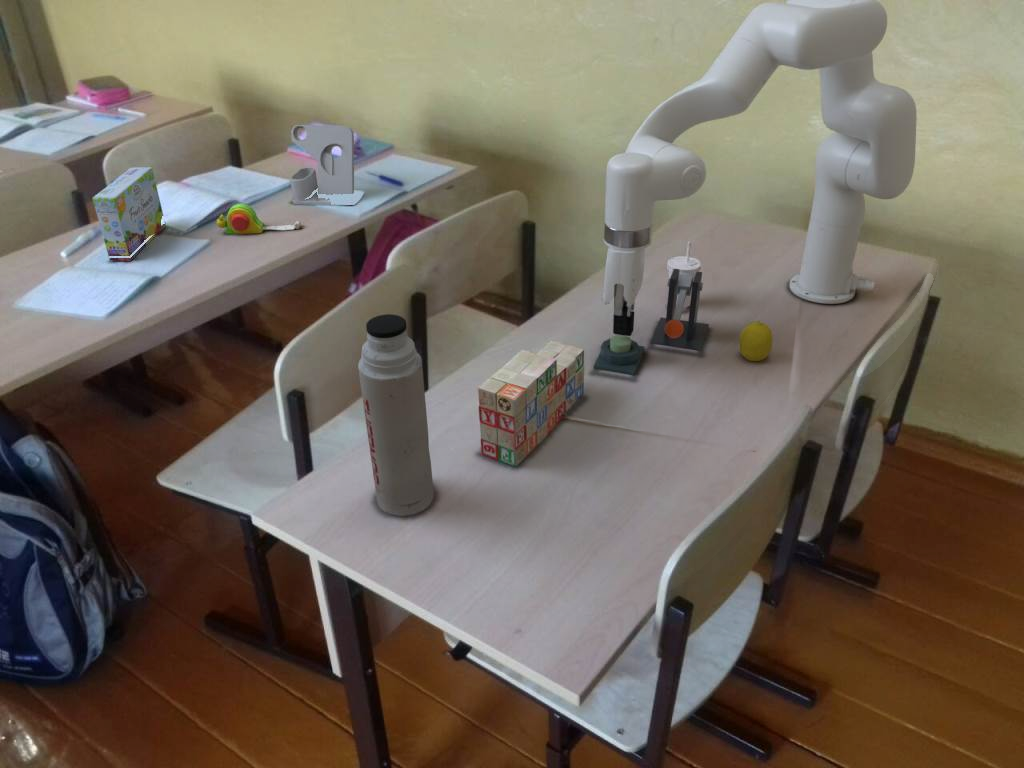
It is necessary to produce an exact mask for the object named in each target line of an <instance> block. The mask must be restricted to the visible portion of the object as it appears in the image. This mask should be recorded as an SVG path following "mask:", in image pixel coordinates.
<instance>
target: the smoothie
mask: <svg viewBox="0 0 1024 768" xmlns="http://www.w3.org/2000/svg"><path fill="white" fill-rule="evenodd" d="M691 245H692V241H691V240H688V241H687V246H686V247H687V248H686V255H685V256H684V255H680V256H679V255H677V256H673V257H671V258H669V259H668V260H667V264H666V268H667V270H668V279H670V277H671V275H672V273H673V270H674V269H680V271H679V278H680V274H688V275H693V280H694V277H695V275H696V272H701V269H702V262H701V261H700V260H698V259H697V258H695V257H691V248H692V247H691ZM678 282H679V281H678ZM691 294H692V289H691V293H690V296H688V295H686V298H685V302H684V306H683V309H687V308H690V303H691ZM678 297H679V294H677V301H678ZM677 301H676V305H677Z"/></svg>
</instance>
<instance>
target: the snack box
mask: <svg viewBox="0 0 1024 768" xmlns="http://www.w3.org/2000/svg"><path fill="white" fill-rule="evenodd" d="M91 199H92V202H93V205H94V209H95V213H96V217H97V220H98V223H99V224H98V225H99V227H100V230H101V234H102V238H103V241H104V245H105V248H106V252H107V255H108V259H109V261H110V262H111V261H113V262H115V261H116V262H132V261H133V260H134V258H136V257H137V255H139V253H140V252H142V250H144V249H145V248H146V247H147V246H148V245H149V244H150V243H151V242H152V241H153V240H154V239H155V238H156V237H157V236H158V234H160V233H161V232H162V231H163V230H164V229H165V228H166V227H167V224H166V223H165V224H163V225H162V226H161V219H162V216H164V211H163V208H162V207H163V206H162V204H161V200H160V195H159V191H158V187H157V182H156V179H155V174H154V169H153V167H152V166H151V167H150V166H149V167H143V166H141V167H139V166H137V167H130V168H128V169H127V170H126V171H125V172H124V173H122V174H121V175H120V176H118V177H117V178H116V179H114V180H113V181H112V182H111V183H109V184H108V185H107V186H106V187H104V188H103V189H102V190H101V191H99V192H98V193H97V194H95V195H94V196H93V197H92V198H91ZM153 234H154V235H153ZM151 235H153V236H152V237H151V238H150V239H149V240H148V241H147V242H146V243H145V244H144V245H143V246H142V247H141V248H140V249H139V250H138V251H137V252H136V253H135V254H134V255H133V256H132V257H131V258H109V256H130V255H131V254H132V253H133V252H134V251H135V250H136V249H137V248H138V247H139V246H140V245H141V244H142V243H143V242H144V240H146V239H147V238H148V237H149V236H151Z"/></svg>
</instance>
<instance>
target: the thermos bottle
mask: <svg viewBox="0 0 1024 768" xmlns="http://www.w3.org/2000/svg"><path fill="white" fill-rule="evenodd" d="M365 329H366V333H367V334H366V339H367V340H366V341H365V342H364V343H363V344H362V347H361V354H360V357H361V358H360V359H359V361H358V364H357V367H358V375H359V382H360V389H361V396H362V403H363V412H364V417H365V426H366V434H367V441H368V445H369V453H370V454H369V455H370V461H371V468H372V476H373V482H374V489H375V496H376V503H377V505H378V507H379V508H380V509H381V510H382V511H383V512H385V513H387V514H389V515H391V516H397V517H406V516H407V517H408V516H413V515H416V514H419V513H421V512H422V511H425V509H427V508H428V507H429V506H430V505H431V503H433V500H434V496H435V492H434V480H433V471H432V460H431V453H430V445H429V443H430V440H429V427H428V426H429V425H428V414H427V404H426V392H425V381H424V370H423V369H424V368H423V361H422V357H421V355H420V354H419V353H418V352H417V351H418V350H417V348H416V346H415V342H414V340H413V339H412V338H410V337H409V336H408V333H407V321H406V319H405V318H404V317H402V316H401V315H397V314H390V313H385V314H380V315H377V316H373V317H372V318H370V319H369V320H368V321H367V322H366V325H365Z"/></svg>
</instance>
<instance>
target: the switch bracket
mask: <svg viewBox="0 0 1024 768" xmlns="http://www.w3.org/2000/svg"><path fill="white" fill-rule="evenodd" d="M679 271H680V269H674V270H673V273H672V275H671V277H670V279H669V278H668V279H667V287H668V294H667V304H666V314H665V317H660V318H659V321H658V323H657V325H656V327H655V329H654V333H653V335H652V336H651V340H650V341H649V342H650V344H651V345H657V346H664V347H671V348H677V349H685V350H690V351H699V352H701V351H702V348H703V344H704V341H705V339H706V335H707V331H708V328H709V323H704V322H698V321H697V320H698V313H699V306H700V305H699V304H700V295H701V292H702V291H703V287H704V283H703V282H702V279H703V272H702V271H699V272H696V275H695V277H694V280H693V285H692V294H691V303H690V306H689V312H688V320H683V319H680V322H681V323H682V324H683V327H684V330H683V333H682V335H681V336H680V337H678V338H670V337H668V336H667V335H666V333H665V325H666V323H667V322H668V321H670V320H673V317H674V313H675V309H676V301H677V289H678V281H679Z"/></svg>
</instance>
